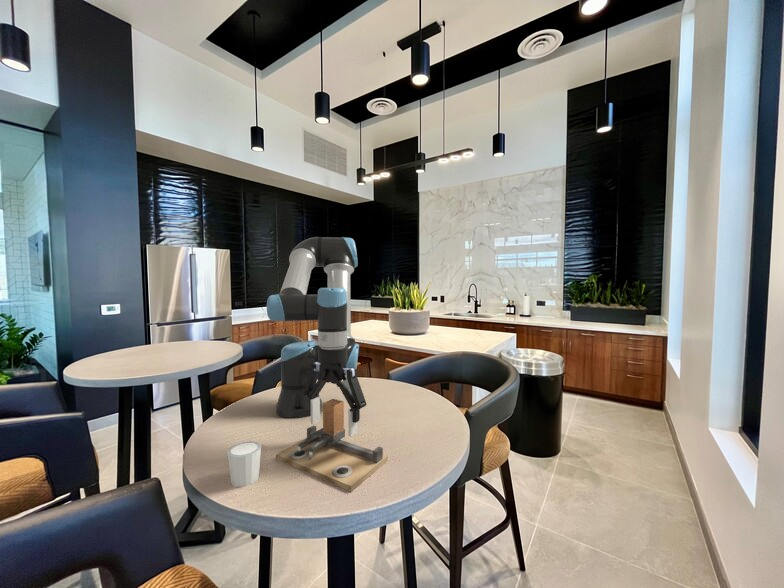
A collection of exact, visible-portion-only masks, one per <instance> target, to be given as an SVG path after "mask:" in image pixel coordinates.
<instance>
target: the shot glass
mask: <svg viewBox="0 0 784 588" xmlns="http://www.w3.org/2000/svg"><path fill="white" fill-rule="evenodd" d="M261 453H262V444H261V443H260V442H257V441H254V440H253V441H252V440H250V441H243V442H239V443H237V444H235V445H233V446H231V447H230V448H228V450H227V461H228V468H229V475H230V476H229V477H230V483H231V485H232V486H233V487H235V488H244V487H248V486H250V485H251V486H252V484H255V483H256V482H257V481H258V479H259V477H260V465H261V455H262V454H261Z"/></svg>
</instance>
